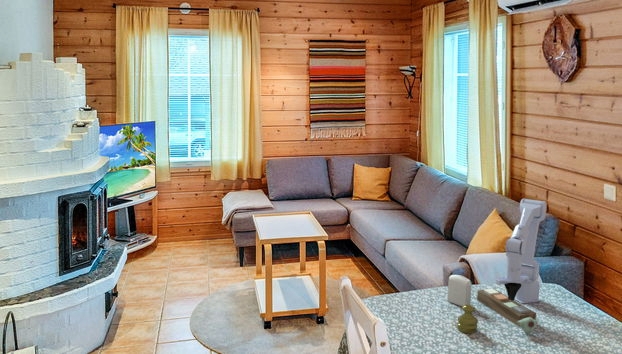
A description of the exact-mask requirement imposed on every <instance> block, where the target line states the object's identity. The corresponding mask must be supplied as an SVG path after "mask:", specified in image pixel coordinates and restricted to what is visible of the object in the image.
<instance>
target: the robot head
mask: <svg viewBox="0 0 622 354" xmlns="http://www.w3.org/2000/svg"><path fill="white" fill-rule="evenodd" d="M517 322H518V323H519V325H520V326H519V327H520V328H522V331H523V332H524V334H527V335H529V334H532V332H533V331H534V330H535V328H536V327H537V326H538V325H539V320H537V319H536V320H534V319H532V318H530V317H528V318H525V319H522V320H519V321H517Z"/></svg>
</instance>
